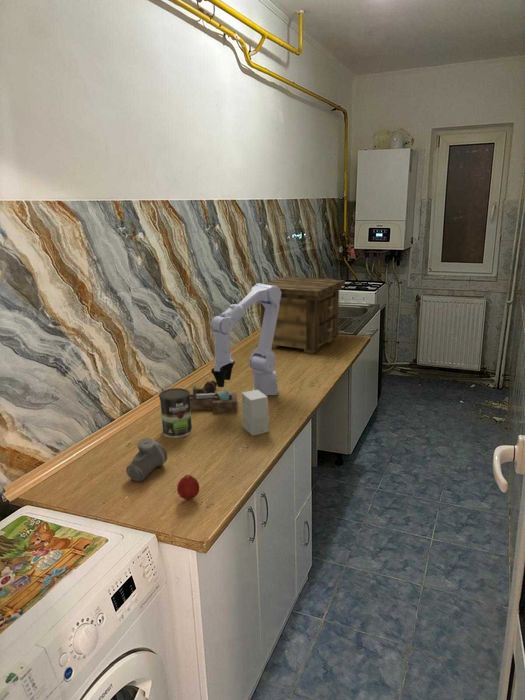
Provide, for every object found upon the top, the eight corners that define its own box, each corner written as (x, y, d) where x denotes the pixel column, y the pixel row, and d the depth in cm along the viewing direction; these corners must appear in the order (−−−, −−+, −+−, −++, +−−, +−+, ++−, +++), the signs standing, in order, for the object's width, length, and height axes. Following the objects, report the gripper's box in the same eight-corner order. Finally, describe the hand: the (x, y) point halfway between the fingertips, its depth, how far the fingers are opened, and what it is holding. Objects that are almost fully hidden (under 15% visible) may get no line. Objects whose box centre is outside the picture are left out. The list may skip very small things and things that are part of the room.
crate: (286, 332, 297) (286, 276, 287) (343, 339, 280) (344, 280, 270) (255, 348, 268) (253, 286, 259) (317, 357, 251) (317, 291, 242)
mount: (237, 402, 200) (236, 389, 198) (237, 411, 191) (236, 398, 190) (190, 404, 199) (190, 391, 198) (188, 413, 191) (187, 400, 189)
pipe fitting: (147, 458, 158) (144, 430, 154) (169, 465, 155) (166, 437, 151) (122, 482, 148) (118, 453, 144) (145, 489, 145) (142, 460, 141)
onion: (179, 494, 140) (176, 468, 137) (200, 493, 140) (198, 467, 138) (177, 507, 134) (175, 480, 132) (199, 505, 135) (197, 478, 132)
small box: (269, 432, 175) (268, 396, 171) (252, 436, 172) (250, 400, 168) (258, 423, 182) (257, 388, 178) (242, 426, 179) (241, 392, 175)
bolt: (215, 392, 216) (202, 405, 202) (205, 385, 216) (191, 398, 202) (221, 381, 214) (208, 393, 200) (211, 374, 214) (197, 386, 200)
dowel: (227, 404, 198) (226, 390, 196) (230, 408, 195) (230, 393, 193) (218, 406, 196) (217, 392, 195) (222, 410, 193) (221, 395, 192)
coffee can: (196, 433, 175) (194, 395, 171) (167, 440, 170) (164, 401, 166) (186, 422, 184) (183, 385, 179) (158, 429, 179) (155, 391, 175)
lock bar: (215, 395, 196) (214, 385, 194) (214, 398, 193) (214, 388, 192) (194, 396, 195) (193, 386, 194) (193, 399, 192) (192, 389, 191)
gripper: (226, 355, 181) (228, 390, 185) (238, 343, 194) (239, 377, 198) (207, 354, 183) (209, 389, 187) (221, 342, 196) (222, 376, 200)
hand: (224, 383), depth 193 cm, fingers open, 7 cm apart
